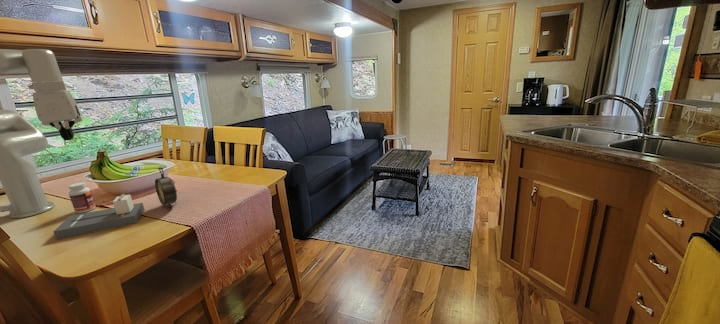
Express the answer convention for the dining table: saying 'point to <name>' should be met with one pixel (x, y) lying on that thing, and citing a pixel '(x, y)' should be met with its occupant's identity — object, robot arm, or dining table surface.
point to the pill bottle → (81, 197)
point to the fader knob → (123, 204)
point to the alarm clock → (165, 190)
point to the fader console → (97, 221)
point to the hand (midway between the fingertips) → (68, 139)
